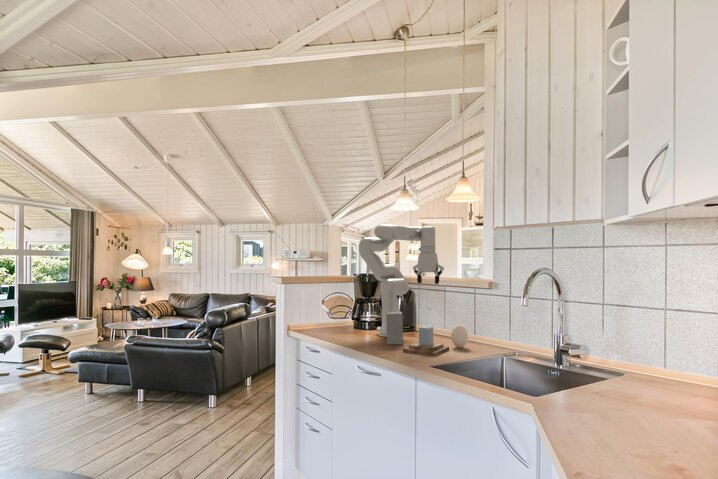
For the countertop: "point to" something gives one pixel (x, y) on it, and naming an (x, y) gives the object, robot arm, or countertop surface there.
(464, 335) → the egg
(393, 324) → the skincare box
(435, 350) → the pedestal
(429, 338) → the slate block
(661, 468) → the countertop surface
